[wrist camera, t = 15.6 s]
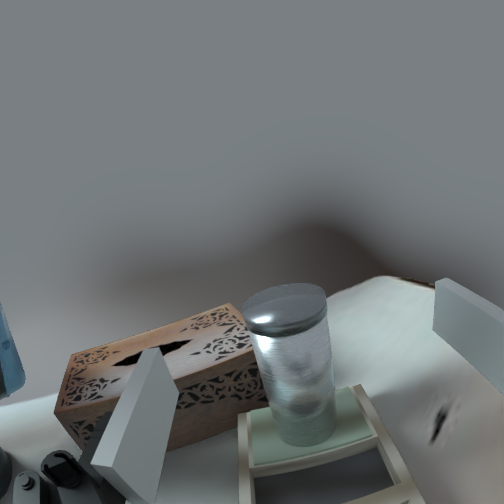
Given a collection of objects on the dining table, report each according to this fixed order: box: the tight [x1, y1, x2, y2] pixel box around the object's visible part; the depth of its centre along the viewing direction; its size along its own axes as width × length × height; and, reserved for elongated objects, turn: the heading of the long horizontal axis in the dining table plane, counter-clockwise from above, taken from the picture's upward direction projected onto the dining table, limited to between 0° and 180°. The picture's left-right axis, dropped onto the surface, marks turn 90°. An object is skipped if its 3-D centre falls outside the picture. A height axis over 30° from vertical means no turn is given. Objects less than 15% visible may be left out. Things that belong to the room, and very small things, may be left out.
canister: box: [242, 283, 337, 447], centre depth 22 cm, size 6×6×14 cm
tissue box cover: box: [54, 303, 270, 452], centre depth 33 cm, size 26×14×10 cm, turn 114°
